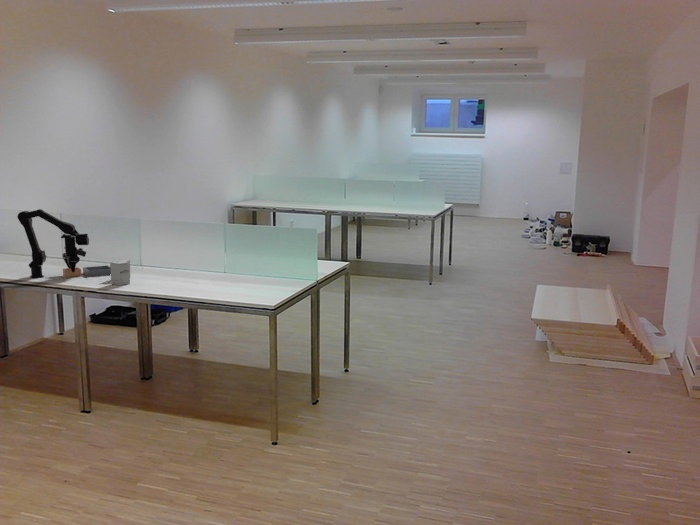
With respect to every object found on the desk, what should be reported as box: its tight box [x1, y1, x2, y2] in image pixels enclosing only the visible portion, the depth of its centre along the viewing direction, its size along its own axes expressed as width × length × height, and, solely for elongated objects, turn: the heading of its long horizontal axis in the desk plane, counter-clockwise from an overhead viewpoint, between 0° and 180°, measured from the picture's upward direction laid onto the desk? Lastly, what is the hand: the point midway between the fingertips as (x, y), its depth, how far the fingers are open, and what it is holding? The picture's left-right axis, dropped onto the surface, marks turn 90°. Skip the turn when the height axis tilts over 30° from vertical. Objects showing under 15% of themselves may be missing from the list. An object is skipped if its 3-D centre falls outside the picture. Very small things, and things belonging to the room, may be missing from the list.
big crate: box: [82, 265, 111, 278], centre depth 384 cm, size 15×15×4 cm
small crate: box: [62, 266, 82, 279], centre depth 375 cm, size 6×9×4 cm, turn 125°
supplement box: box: [109, 261, 131, 286], centre depth 353 cm, size 7×7×13 cm
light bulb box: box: [109, 259, 131, 272], centre depth 368 cm, size 11×7×11 cm, turn 168°
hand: (71, 271), depth 375 cm, fingers open, 9 cm apart
